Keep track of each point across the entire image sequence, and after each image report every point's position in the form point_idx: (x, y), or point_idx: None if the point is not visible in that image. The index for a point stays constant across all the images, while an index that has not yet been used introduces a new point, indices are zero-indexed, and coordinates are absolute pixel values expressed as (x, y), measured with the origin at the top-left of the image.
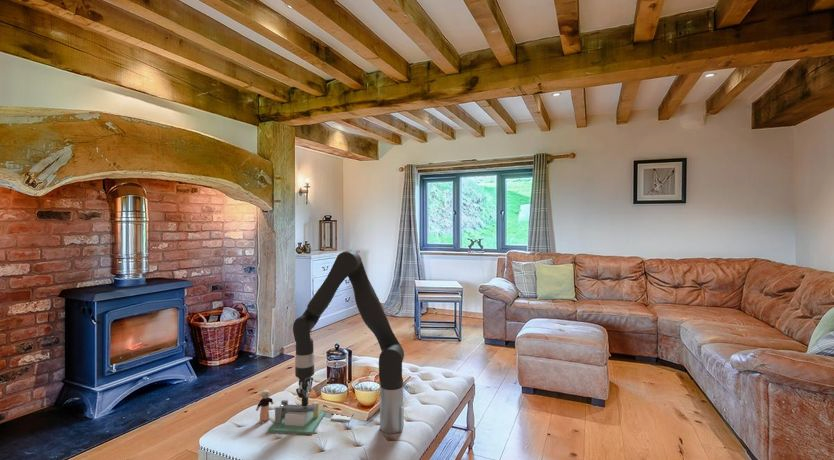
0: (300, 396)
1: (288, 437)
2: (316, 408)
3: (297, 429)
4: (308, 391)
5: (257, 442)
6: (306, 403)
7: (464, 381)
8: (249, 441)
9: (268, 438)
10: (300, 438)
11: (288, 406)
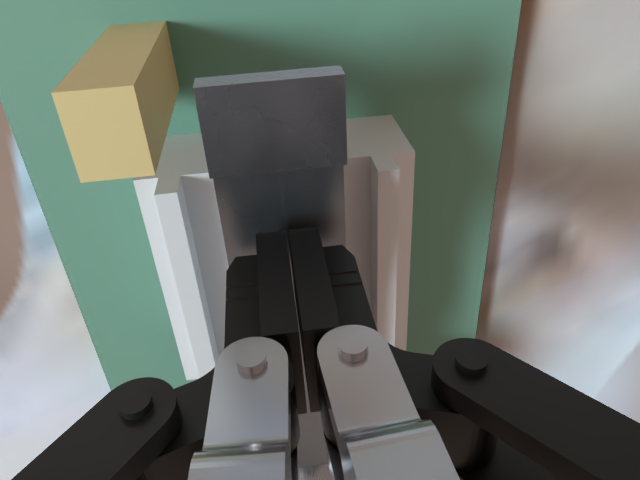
0: (496, 439)
1: (554, 170)
2: (154, 83)
3: (467, 145)
4: (258, 419)
5: (602, 345)
6: (323, 256)
7: None
8: (582, 391)
9: (555, 308)
10: (585, 41)
11: (311, 424)
